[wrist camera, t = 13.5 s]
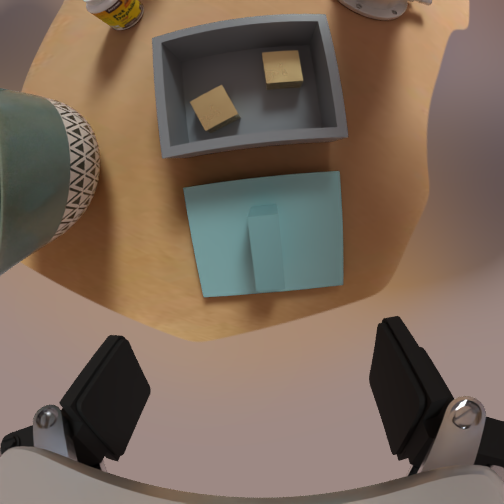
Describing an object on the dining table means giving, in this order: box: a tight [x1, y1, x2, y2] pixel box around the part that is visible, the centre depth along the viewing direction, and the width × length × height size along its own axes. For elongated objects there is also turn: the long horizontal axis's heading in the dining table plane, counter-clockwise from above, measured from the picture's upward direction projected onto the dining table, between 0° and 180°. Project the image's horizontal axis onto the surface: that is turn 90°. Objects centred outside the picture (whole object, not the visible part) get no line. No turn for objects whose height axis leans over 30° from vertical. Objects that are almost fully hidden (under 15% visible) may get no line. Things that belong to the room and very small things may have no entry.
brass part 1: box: [190, 85, 241, 133], centre depth 28 cm, size 4×4×3 cm
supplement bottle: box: [83, 0, 144, 30], centre depth 20 cm, size 6×6×10 cm
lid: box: [183, 171, 343, 297], centre depth 31 cm, size 19×15×8 cm
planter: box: [0, 88, 100, 275], centre depth 23 cm, size 20×20×21 cm
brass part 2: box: [262, 50, 303, 90], centre depth 26 cm, size 4×4×3 cm
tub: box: [152, 14, 348, 158], centre depth 25 cm, size 18×14×8 cm
